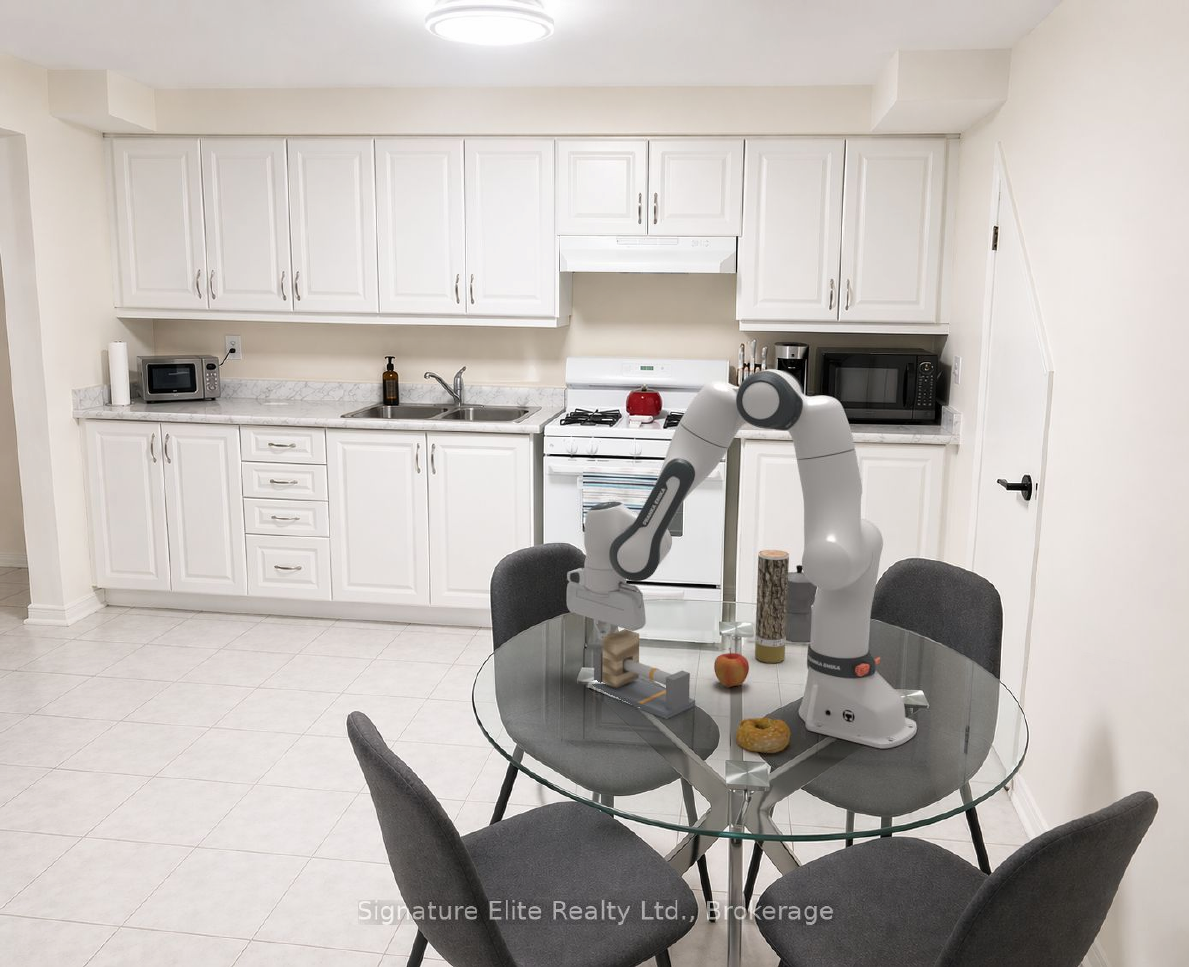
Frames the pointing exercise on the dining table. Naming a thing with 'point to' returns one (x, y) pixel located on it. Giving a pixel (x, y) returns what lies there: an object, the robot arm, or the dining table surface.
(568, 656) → the dining table surface
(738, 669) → the apple
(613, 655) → the collar
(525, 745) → the dining table surface
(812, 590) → the coffeepot
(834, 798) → the dining table surface
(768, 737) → the bagel
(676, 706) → the pipe stand
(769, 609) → the brown tall cylinder piece
